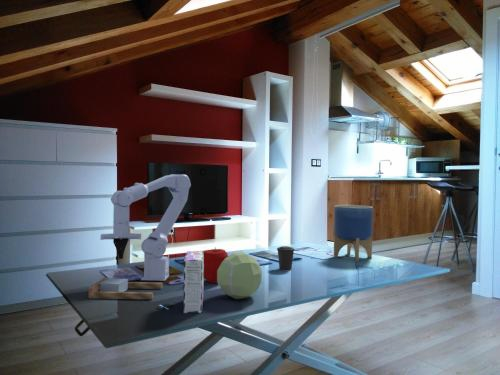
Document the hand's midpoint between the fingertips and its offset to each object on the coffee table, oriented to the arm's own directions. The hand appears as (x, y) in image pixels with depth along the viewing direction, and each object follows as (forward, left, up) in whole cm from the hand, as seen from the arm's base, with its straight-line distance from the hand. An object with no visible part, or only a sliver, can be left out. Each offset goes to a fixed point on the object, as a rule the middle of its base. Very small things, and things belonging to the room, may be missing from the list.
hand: (120, 258), depth 151 cm
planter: (-100, -58, -10) cm, 116 cm away
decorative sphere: (-46, +12, -10) cm, 49 cm away
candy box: (-32, +22, -10) cm, 40 cm away
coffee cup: (-64, -30, -10) cm, 71 cm away
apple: (-35, -7, -10) cm, 37 cm away
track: (-7, +10, -10) cm, 16 cm away
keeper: (-1, +9, -10) cm, 14 cm away
